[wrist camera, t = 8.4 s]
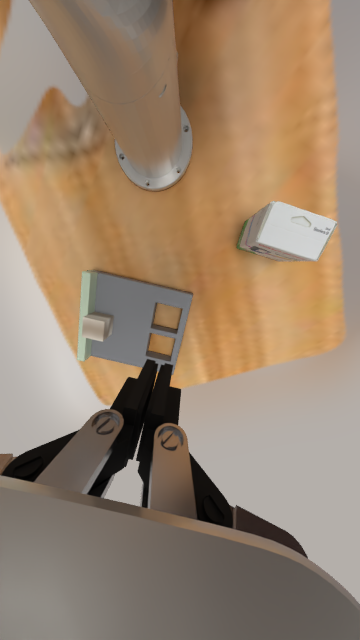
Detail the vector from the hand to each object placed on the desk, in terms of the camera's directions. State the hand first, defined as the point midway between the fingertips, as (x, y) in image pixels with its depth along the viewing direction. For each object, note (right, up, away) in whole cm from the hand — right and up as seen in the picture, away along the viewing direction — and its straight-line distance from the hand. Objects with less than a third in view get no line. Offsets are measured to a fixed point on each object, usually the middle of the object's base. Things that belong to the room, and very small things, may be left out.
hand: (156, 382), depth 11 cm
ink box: (+17, +18, +22) cm, 33 cm away
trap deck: (-8, +3, +28) cm, 29 cm away
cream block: (-14, +3, +26) cm, 30 cm away
